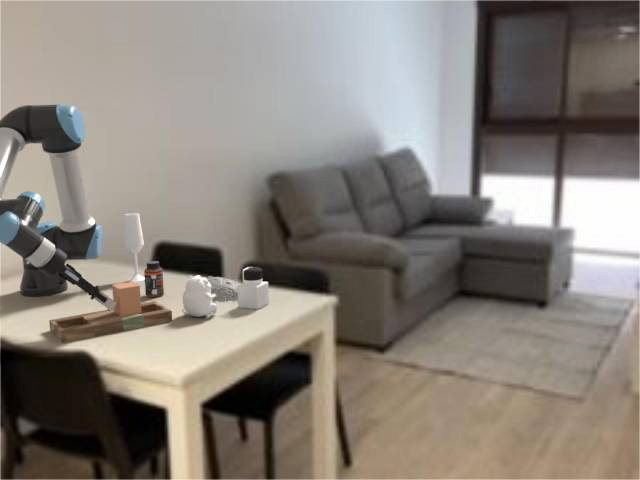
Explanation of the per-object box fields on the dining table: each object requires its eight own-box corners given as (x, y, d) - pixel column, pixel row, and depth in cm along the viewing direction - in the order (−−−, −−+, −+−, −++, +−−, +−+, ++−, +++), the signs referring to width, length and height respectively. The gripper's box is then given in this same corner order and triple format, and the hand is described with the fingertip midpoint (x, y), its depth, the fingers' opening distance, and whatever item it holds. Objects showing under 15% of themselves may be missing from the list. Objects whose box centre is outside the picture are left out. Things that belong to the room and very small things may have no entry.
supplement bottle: (159, 298, 225) (157, 264, 223) (142, 297, 226) (140, 263, 224) (167, 293, 231) (164, 260, 229) (150, 292, 232) (148, 259, 230)
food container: (222, 305, 215) (222, 284, 214) (179, 294, 233) (179, 275, 233) (261, 300, 225) (262, 280, 225) (218, 290, 244) (218, 271, 243)
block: (114, 311, 201) (112, 284, 199) (134, 307, 204) (132, 281, 202) (121, 316, 196) (119, 289, 194) (141, 312, 199) (139, 285, 198)
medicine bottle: (269, 303, 216) (268, 266, 214) (257, 309, 210) (256, 271, 208) (249, 301, 219) (248, 264, 217) (237, 307, 213) (236, 269, 211)
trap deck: (50, 330, 194) (49, 319, 193) (155, 310, 211) (154, 300, 211) (62, 342, 183) (61, 331, 183) (172, 320, 201) (171, 310, 200)
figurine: (187, 322, 199) (185, 282, 197) (178, 313, 208) (175, 275, 205) (220, 317, 204) (218, 277, 201) (209, 309, 212) (207, 271, 210)
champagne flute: (143, 281, 247) (139, 215, 243) (125, 281, 247) (120, 215, 243) (148, 277, 254) (144, 212, 249) (130, 277, 254) (125, 212, 249)
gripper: (31, 264, 189) (97, 311, 201) (43, 272, 178) (112, 322, 190) (50, 242, 191) (114, 291, 203) (62, 250, 180) (129, 300, 192)
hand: (113, 306), depth 197 cm, fingers closed
